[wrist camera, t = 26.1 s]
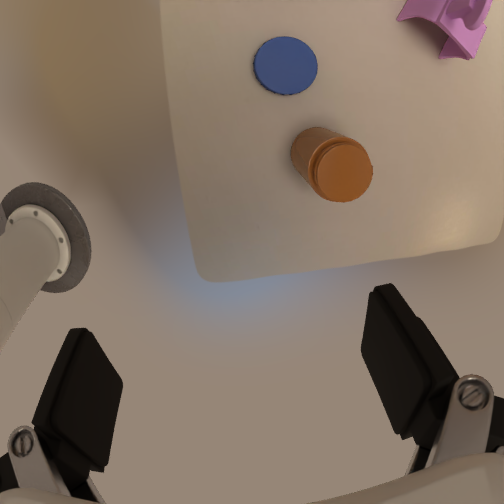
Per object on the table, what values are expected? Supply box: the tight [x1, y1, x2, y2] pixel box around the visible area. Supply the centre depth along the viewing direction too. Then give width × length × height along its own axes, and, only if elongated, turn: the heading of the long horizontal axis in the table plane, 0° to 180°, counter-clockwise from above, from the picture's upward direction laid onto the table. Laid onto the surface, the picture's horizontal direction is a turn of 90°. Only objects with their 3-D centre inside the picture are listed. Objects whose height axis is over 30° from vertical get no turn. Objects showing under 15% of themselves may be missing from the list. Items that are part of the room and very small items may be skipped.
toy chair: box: [397, 0, 492, 60], centre depth 19 cm, size 8×9×15 cm
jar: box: [291, 127, 373, 202], centre depth 30 cm, size 7×7×9 cm
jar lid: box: [253, 37, 317, 95], centre depth 28 cm, size 7×7×2 cm
